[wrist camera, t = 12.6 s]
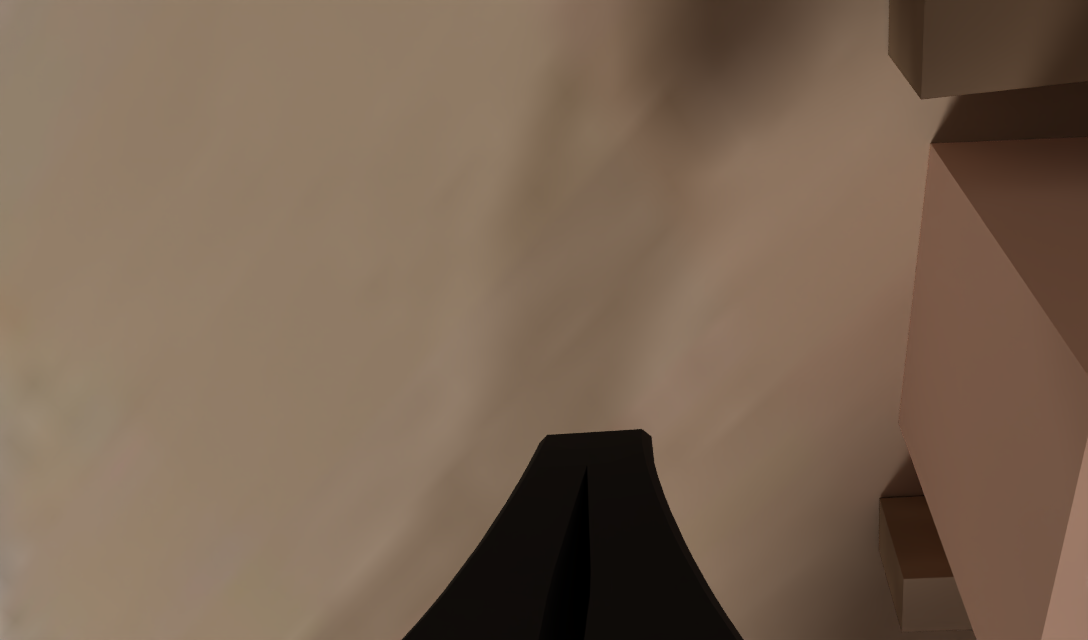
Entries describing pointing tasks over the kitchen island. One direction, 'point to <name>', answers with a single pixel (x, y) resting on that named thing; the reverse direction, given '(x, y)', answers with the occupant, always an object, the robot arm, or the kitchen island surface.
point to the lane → (949, 70)
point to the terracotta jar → (1005, 380)
